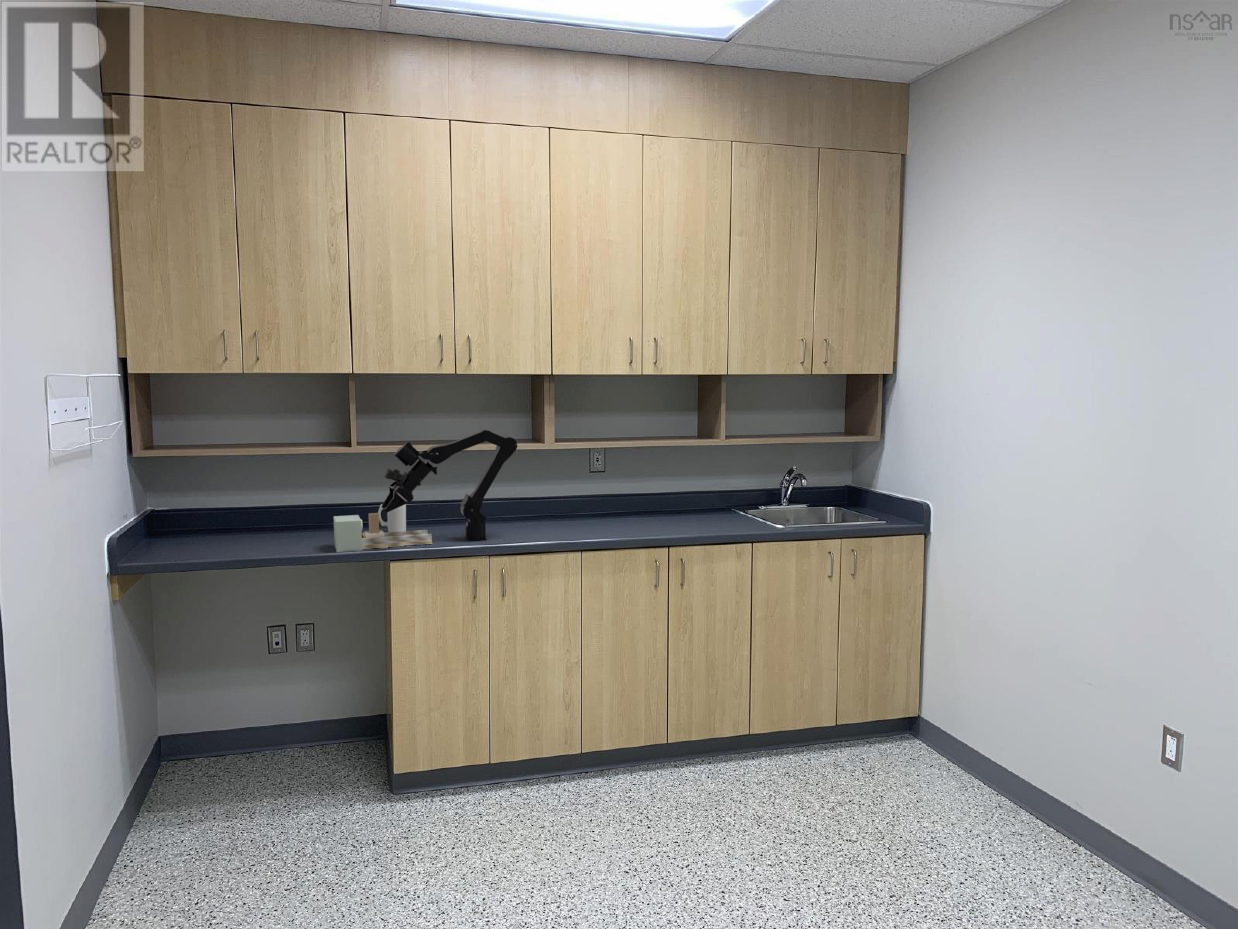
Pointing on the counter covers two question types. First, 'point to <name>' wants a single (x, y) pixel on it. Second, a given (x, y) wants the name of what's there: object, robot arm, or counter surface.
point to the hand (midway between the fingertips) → (383, 509)
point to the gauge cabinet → (348, 533)
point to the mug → (395, 519)
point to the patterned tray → (398, 539)
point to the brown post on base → (374, 527)
